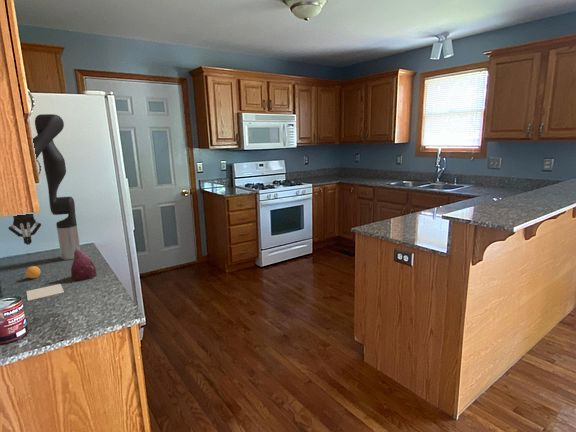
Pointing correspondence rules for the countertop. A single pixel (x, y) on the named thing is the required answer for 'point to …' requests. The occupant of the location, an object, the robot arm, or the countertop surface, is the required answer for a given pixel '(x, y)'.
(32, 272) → the ball
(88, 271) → the vegetable
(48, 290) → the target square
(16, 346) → the countertop surface
